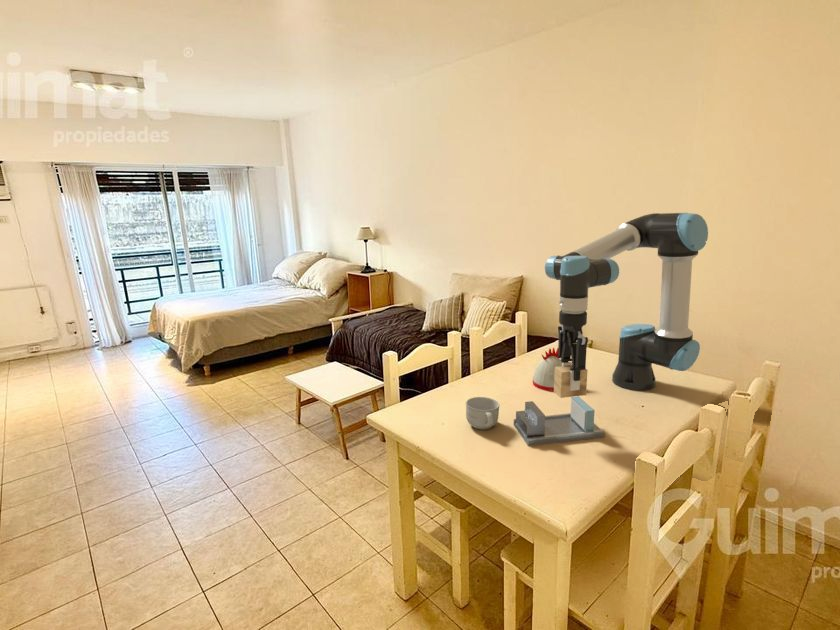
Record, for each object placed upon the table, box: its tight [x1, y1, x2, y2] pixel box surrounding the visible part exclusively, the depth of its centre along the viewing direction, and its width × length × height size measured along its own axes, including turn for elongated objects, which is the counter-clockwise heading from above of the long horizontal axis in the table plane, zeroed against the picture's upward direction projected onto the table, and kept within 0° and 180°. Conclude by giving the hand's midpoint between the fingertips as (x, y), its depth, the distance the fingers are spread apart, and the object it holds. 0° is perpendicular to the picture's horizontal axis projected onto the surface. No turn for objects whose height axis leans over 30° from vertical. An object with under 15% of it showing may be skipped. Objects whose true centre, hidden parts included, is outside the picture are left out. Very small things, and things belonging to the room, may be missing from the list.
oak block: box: [553, 365, 588, 399], centre depth 129 cm, size 8×4×8 cm, turn 99°
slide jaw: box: [570, 396, 596, 432], centre depth 137 cm, size 3×10×7 cm, turn 7°
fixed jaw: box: [515, 400, 546, 438], centre depth 135 cm, size 6×10×7 cm, turn 7°
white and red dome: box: [532, 347, 562, 392], centre depth 170 cm, size 14×14×15 cm
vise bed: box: [513, 412, 605, 447], centre depth 137 cm, size 24×13×2 cm, turn 97°
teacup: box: [465, 396, 500, 430], centre depth 140 cm, size 14×11×8 cm
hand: (570, 386), depth 130 cm, fingers closed on oak block, 4 cm apart
